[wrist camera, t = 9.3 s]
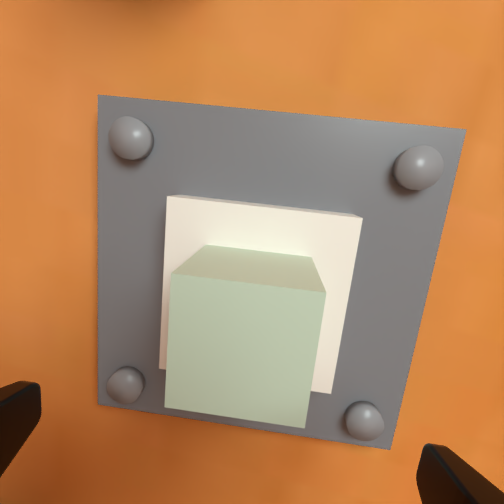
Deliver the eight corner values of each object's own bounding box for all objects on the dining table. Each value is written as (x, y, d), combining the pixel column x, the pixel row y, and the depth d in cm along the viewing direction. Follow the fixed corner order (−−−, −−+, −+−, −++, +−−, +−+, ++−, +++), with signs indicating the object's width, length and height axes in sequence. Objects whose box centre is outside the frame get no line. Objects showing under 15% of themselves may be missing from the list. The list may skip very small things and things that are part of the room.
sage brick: (297, 353, 16) (304, 428, 11) (198, 340, 16) (164, 407, 11) (311, 256, 15) (326, 292, 10) (205, 244, 15) (170, 273, 10)
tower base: (382, 430, 20) (402, 480, 17) (110, 389, 22) (78, 428, 18) (449, 134, 16) (494, 121, 13) (112, 102, 18) (72, 82, 14)
